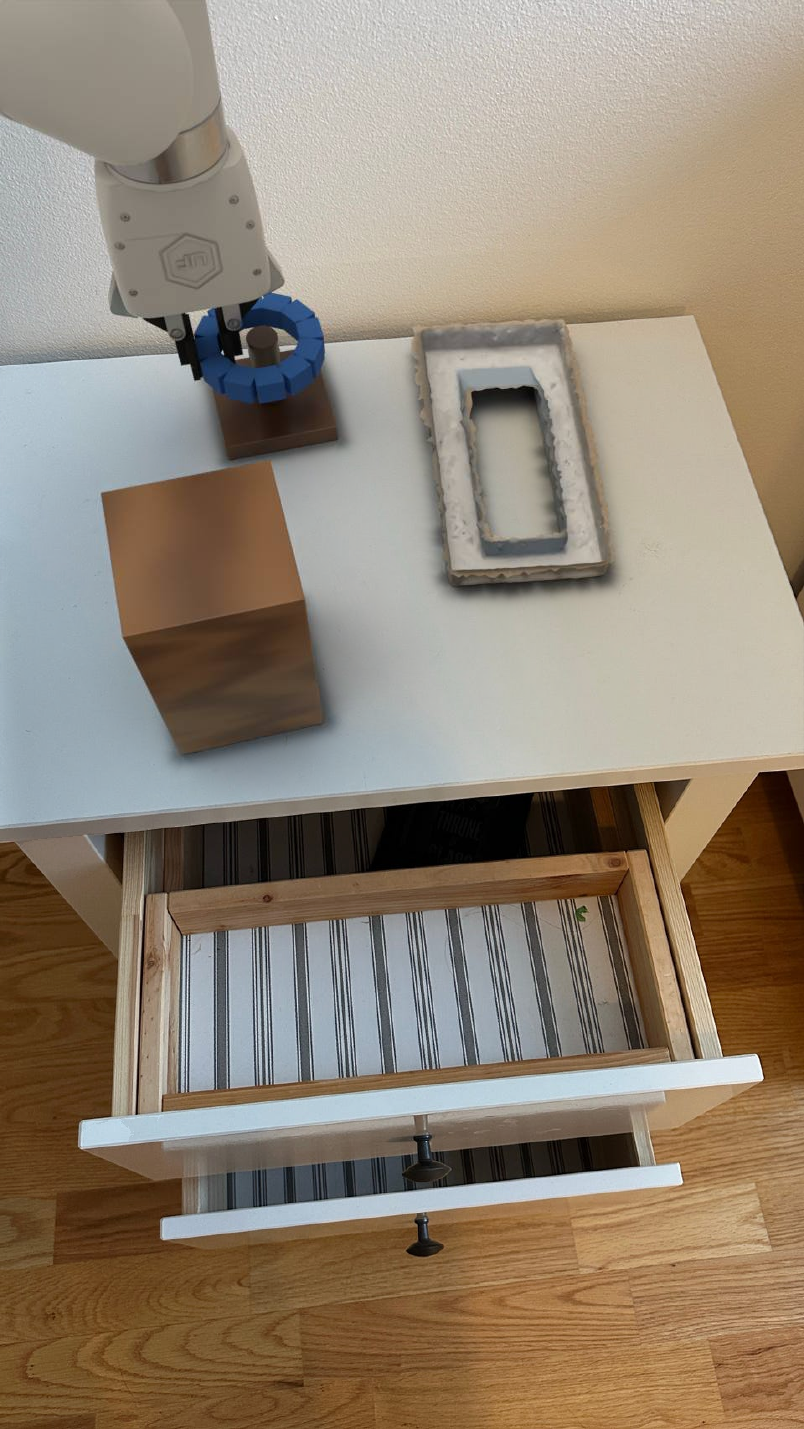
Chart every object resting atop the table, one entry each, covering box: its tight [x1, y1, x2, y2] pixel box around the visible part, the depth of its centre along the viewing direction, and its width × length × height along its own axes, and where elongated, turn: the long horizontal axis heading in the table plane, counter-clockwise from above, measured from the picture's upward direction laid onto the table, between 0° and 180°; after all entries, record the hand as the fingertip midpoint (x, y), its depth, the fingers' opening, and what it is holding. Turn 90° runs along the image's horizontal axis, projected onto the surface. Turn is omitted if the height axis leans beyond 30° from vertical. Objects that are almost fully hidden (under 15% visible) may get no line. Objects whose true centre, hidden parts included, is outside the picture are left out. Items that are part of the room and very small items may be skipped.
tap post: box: [211, 326, 339, 461], centre depth 77 cm, size 9×9×8 cm
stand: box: [100, 459, 324, 756], centre depth 62 cm, size 10×10×16 cm
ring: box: [193, 292, 326, 404], centre depth 74 cm, size 10×10×2 cm
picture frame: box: [410, 318, 616, 586], centre depth 77 cm, size 13×25×3 cm, turn 6°
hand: (212, 362), depth 75 cm, fingers closed on ring, 2 cm apart
